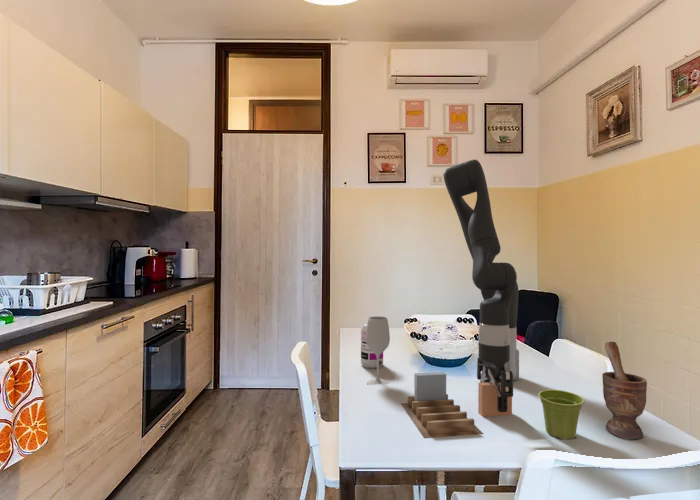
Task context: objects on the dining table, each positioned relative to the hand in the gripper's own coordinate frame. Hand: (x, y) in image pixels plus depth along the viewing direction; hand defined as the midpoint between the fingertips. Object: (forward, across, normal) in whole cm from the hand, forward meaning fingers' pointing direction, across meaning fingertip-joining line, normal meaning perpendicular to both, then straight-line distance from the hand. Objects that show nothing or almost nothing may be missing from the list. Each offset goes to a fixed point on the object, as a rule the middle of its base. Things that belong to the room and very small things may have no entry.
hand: (493, 405), depth 103 cm
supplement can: (+4, +50, +22) cm, 55 cm away
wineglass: (+4, +30, +24) cm, 38 cm away
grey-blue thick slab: (+2, +6, +15) cm, 16 cm away
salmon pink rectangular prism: (+4, 0, 0) cm, 4 cm away
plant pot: (+4, -10, -11) cm, 16 cm away
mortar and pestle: (+4, -10, -26) cm, 28 cm away
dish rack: (+4, 0, +15) cm, 15 cm away
